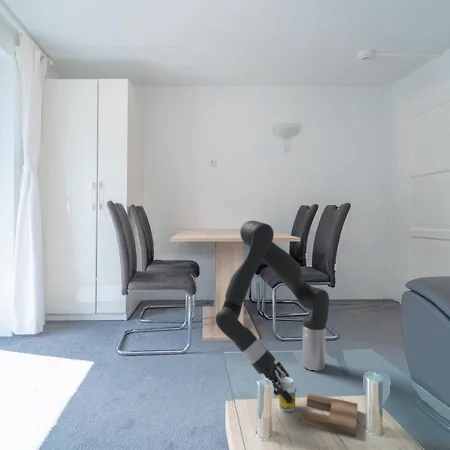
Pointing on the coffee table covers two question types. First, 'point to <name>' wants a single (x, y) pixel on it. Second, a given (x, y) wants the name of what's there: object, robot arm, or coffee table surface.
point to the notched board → (331, 415)
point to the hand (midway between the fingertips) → (292, 396)
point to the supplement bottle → (290, 389)
